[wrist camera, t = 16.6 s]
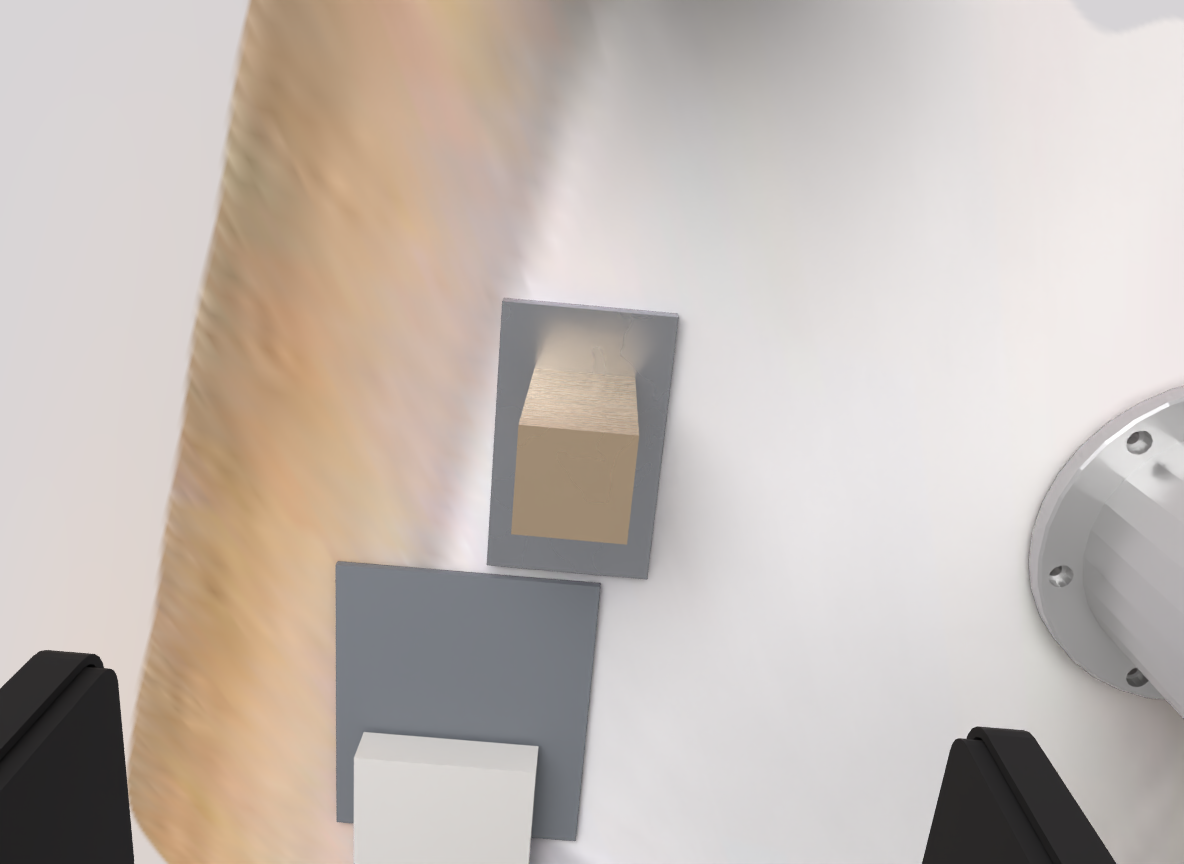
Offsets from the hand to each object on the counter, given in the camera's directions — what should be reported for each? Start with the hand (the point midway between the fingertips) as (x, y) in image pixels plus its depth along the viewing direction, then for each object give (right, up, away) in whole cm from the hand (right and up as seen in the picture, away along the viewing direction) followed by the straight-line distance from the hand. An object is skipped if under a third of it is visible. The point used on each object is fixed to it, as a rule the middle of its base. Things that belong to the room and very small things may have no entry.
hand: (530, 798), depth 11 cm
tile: (-5, -8, +27) cm, 29 cm away
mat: (-4, -7, +28) cm, 29 cm away
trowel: (0, +5, +24) cm, 25 cm away
